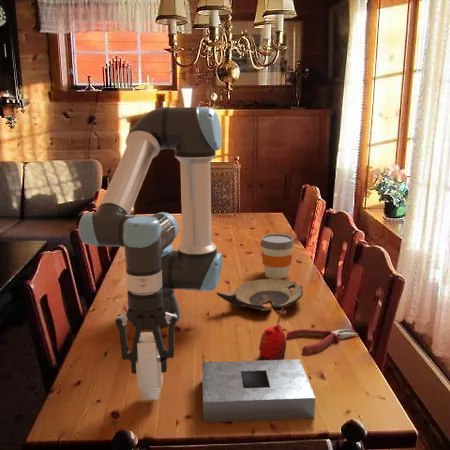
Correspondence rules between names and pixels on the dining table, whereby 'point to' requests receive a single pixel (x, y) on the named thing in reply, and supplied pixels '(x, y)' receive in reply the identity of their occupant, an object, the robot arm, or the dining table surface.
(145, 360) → the white tall block
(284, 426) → the dining table surface
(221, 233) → the dining table surface
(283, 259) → the reusable coffee cup
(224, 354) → the dining table surface
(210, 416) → the bracket head
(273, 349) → the red clay folk toy
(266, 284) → the broken bowl
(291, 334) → the pliers
